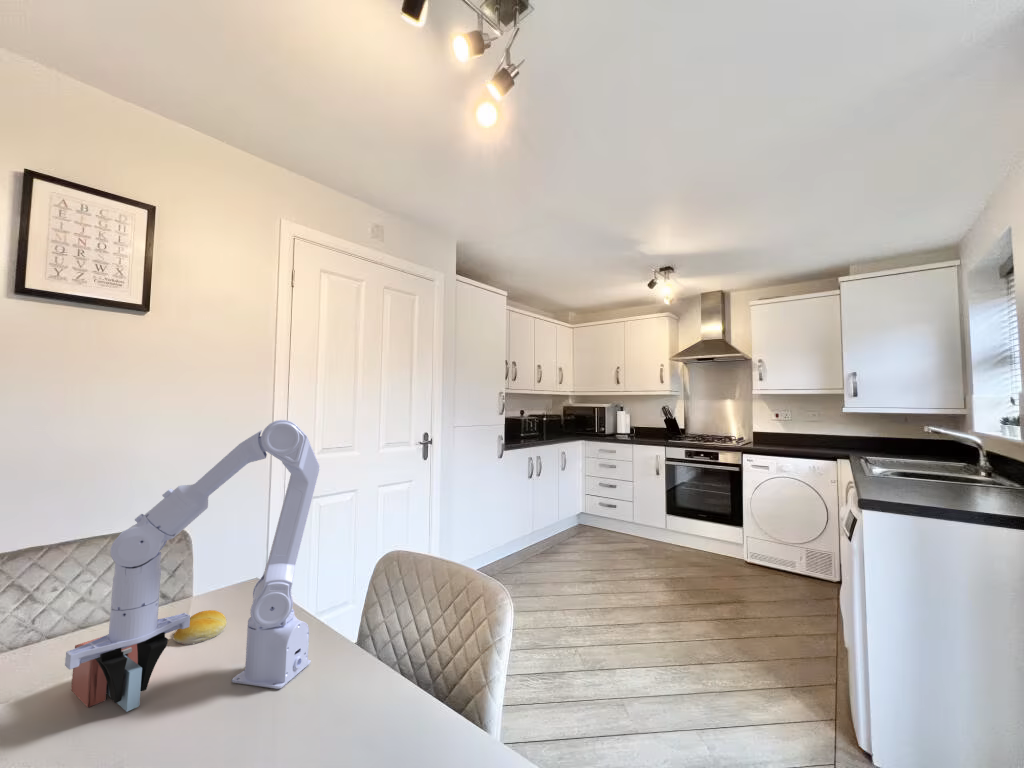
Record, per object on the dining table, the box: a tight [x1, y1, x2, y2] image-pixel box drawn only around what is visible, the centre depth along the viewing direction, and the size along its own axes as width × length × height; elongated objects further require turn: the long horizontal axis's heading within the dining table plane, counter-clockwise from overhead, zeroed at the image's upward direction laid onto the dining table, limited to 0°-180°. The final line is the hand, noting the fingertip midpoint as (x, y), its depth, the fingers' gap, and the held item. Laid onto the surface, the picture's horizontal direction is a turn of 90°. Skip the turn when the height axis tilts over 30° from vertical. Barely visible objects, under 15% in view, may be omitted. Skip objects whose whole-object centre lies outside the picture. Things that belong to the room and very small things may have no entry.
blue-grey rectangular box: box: [106, 655, 142, 713], centre depth 68 cm, size 13×2×6 cm, turn 59°
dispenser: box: [70, 636, 138, 708], centre depth 70 cm, size 8×6×7 cm
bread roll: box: [173, 609, 228, 645], centre depth 88 cm, size 8×9×4 cm
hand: (128, 694), depth 66 cm, fingers open, 2 cm apart
